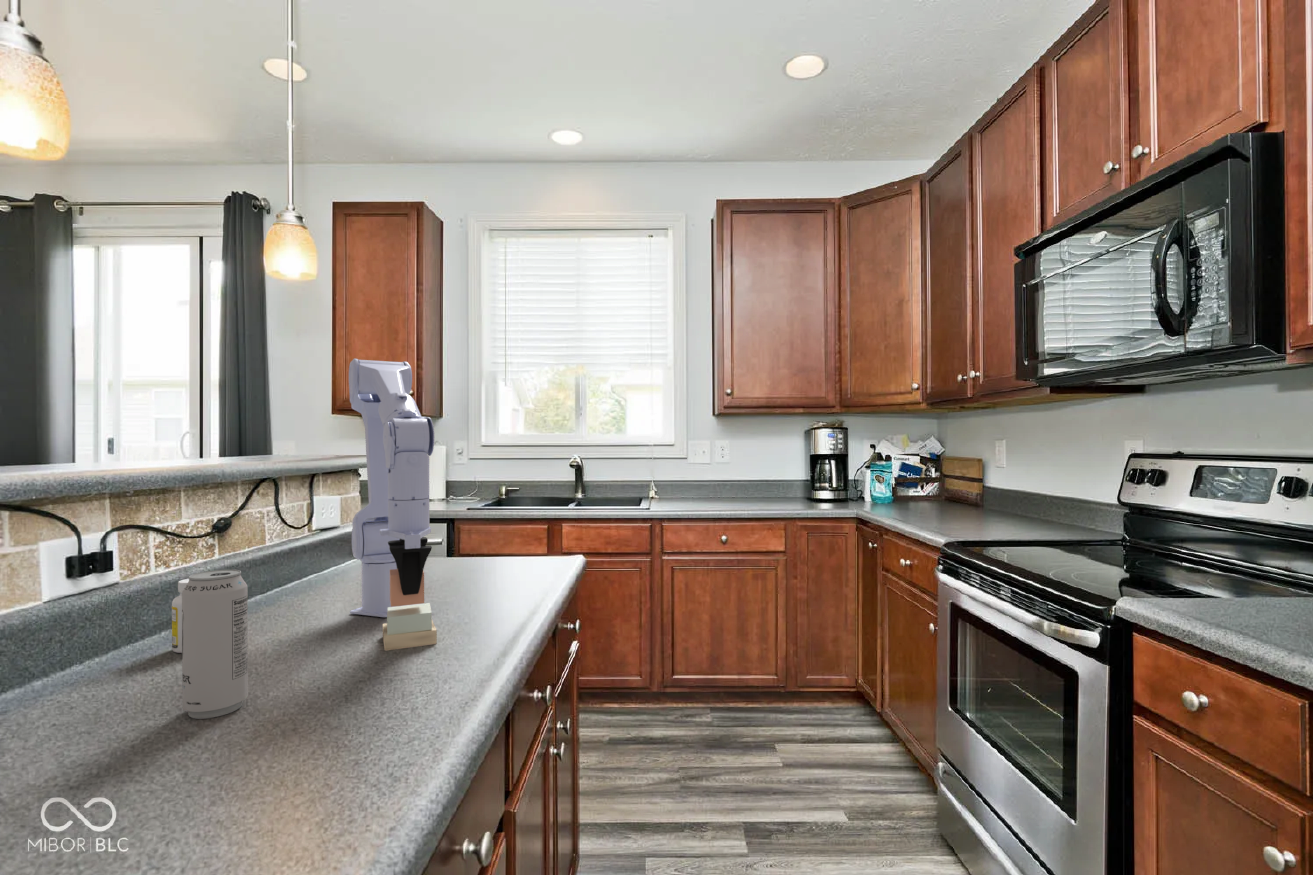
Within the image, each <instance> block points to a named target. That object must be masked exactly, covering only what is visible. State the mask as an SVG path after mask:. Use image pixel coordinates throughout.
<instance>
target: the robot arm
mask: <svg viewBox="0 0 1313 875" xmlns="http://www.w3.org/2000/svg"><path fill="white" fill-rule="evenodd" d="M411 366H412V365H410V364H409V362H408V361H385V360H369V359H368V360H367V359H358V358H353V359H352V360H351V361H350V363H349V366H348V390H349V403H350V405H351V409H352V410H354V411H356V412H358V413H359V414H361V417H362V422H363V426H364V434H365V438H364V439H365V452H366V453H365V454H366V455H365V456H366V471H367V472H366V474H367V489H368V490H367V491H368V492H367V496H368V504H366V506H364V507H362V508H361V509H360V510H359V511H358V512H356V513H355V515H354V517H353V518H352V529H351V549H352V555H353V557H354V558H355V559H356V560H357V561H360V562H361V607H358V608H355V609H352V610H349V614H351V615H360V616H361V615H362V616H369V617H370V616H371V617H380V618H387V611H388V607H391V603H390V570H392V569H398V572H399V578H400V584H401V589H402V593H403V595H411V594H418V593H419V589H420V585H421V580H422V574H423V571H424V569H425V565H426V562H427V559H428V558H429V555H430V553H431V551H432V549H433V548H432V545H430V544H429V545H427V543H428V538H427V537H426V536H428V535H429V534H431V533H432V528H431V525H430V456H432V454H433V452H434V448H435V429H434V428H435V427H434V424H433V420H432V418H431V417H429V416H422V414H421V412H420V410H419V407H418V405H417V402H416V401H415V399H414V398H413V397H412V396H411V395H410V393H411V391H412V386H413V371H412V367H411ZM424 603H425V602H424ZM424 603H422V604H424ZM412 605H415V604H412ZM403 606H405V605H403ZM393 607H396V606H393Z"/></svg>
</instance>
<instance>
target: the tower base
mask: <svg viewBox="0 0 1313 875" xmlns="http://www.w3.org/2000/svg"><path fill="white" fill-rule="evenodd" d="M437 631H438V630H437V627H436V626H435V623H434V621H433V620H432V630H425V631H417V632H409V633H401V634H393V635H387V622H385V623H382V641H383V648H384V651H392V650H393V651H395V650H400V649H407V648H415V647H422V646H430V645H436V644H437V643H438V641H437V640H438V639H437V638H438V634H437Z"/></svg>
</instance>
